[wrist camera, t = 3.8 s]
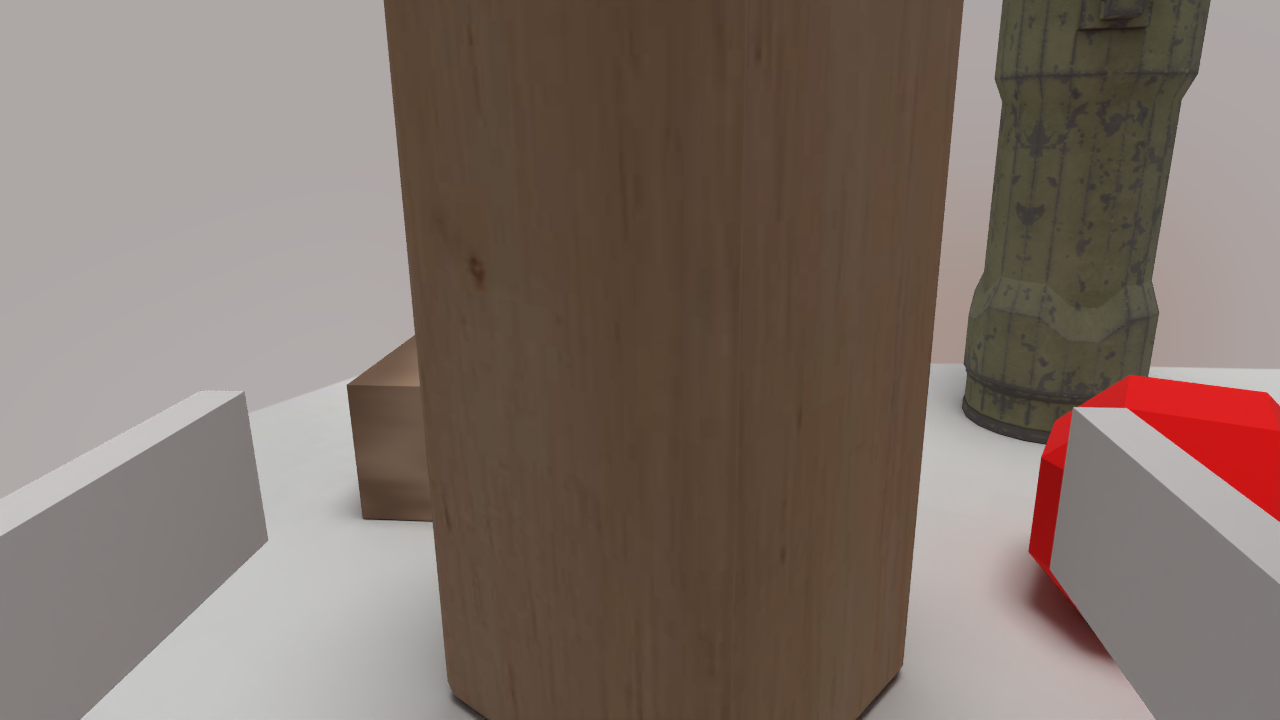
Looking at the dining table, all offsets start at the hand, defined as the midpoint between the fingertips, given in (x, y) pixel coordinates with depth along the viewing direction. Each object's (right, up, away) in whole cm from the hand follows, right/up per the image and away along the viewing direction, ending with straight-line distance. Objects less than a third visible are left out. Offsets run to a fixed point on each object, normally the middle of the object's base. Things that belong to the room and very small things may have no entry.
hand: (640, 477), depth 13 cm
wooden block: (+1, -8, +12) cm, 14 cm away
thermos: (+22, -1, +33) cm, 40 cm away
